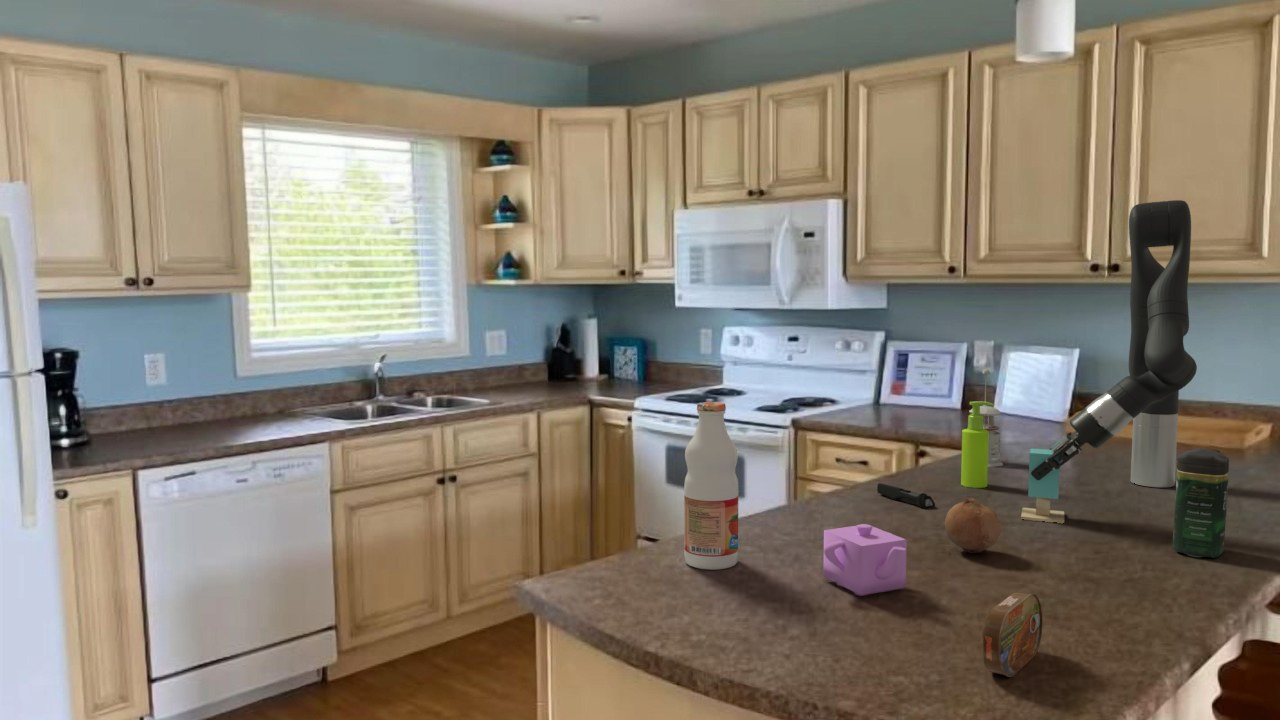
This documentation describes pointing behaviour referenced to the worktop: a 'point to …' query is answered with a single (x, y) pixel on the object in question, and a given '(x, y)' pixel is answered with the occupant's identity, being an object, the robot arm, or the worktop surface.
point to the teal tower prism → (1048, 483)
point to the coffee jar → (1201, 502)
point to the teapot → (865, 559)
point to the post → (1042, 512)
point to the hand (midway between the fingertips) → (1034, 473)
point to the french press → (991, 431)
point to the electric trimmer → (906, 496)
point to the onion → (972, 526)
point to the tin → (1012, 633)
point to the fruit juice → (711, 493)
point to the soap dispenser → (975, 449)
